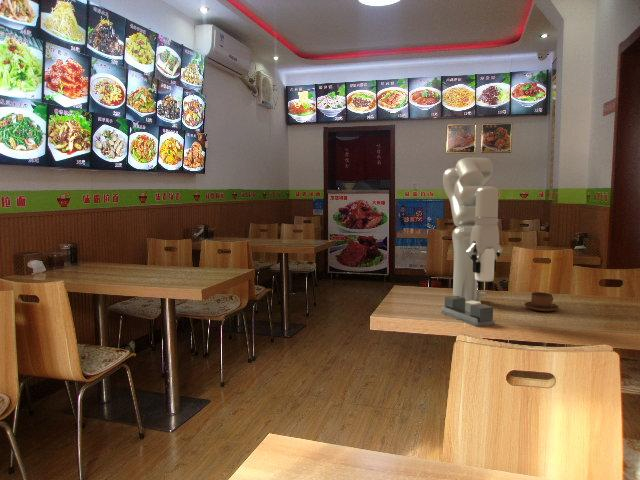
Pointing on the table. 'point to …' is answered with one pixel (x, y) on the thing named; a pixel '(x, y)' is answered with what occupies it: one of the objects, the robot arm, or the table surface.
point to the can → (486, 266)
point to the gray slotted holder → (475, 317)
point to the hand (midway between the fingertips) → (484, 271)
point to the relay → (469, 303)
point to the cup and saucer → (541, 302)
